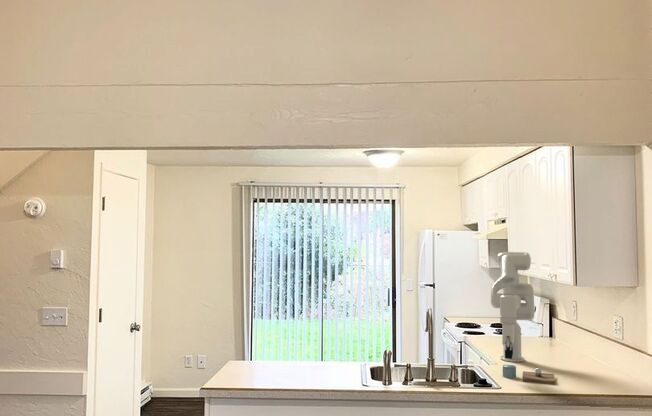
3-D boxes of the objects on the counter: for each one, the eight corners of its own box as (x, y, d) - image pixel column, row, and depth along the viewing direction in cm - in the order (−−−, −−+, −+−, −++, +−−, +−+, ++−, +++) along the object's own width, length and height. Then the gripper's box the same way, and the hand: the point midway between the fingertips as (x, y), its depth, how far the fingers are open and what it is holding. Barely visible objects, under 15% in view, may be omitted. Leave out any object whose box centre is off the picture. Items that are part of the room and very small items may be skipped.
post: (535, 375, 244) (535, 367, 244) (541, 375, 243) (541, 368, 243) (535, 376, 241) (535, 369, 241) (541, 377, 240) (541, 369, 240)
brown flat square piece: (522, 374, 251) (522, 371, 251) (554, 377, 246) (553, 374, 246) (522, 381, 238) (522, 378, 238) (555, 384, 233) (555, 381, 233)
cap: (503, 374, 251) (503, 364, 251) (516, 375, 248) (516, 365, 249) (502, 377, 245) (502, 366, 245) (515, 378, 243) (515, 368, 243)
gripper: (501, 318, 258) (501, 353, 256) (499, 322, 242) (499, 359, 240) (517, 319, 255) (517, 354, 253) (516, 323, 239) (516, 360, 237)
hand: (509, 356), depth 247 cm, fingers open, 9 cm apart
